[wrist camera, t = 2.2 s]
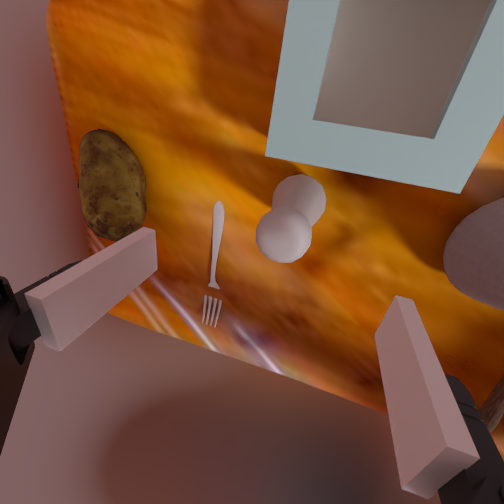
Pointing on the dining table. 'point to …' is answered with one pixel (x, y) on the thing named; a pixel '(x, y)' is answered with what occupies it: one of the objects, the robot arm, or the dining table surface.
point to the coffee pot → (480, 276)
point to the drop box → (390, 87)
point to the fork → (215, 259)
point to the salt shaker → (291, 218)
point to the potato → (110, 185)
